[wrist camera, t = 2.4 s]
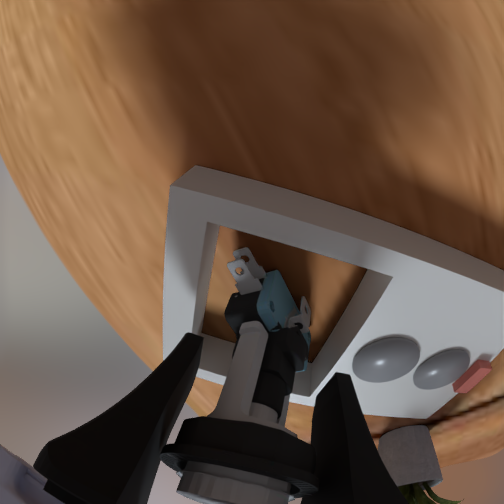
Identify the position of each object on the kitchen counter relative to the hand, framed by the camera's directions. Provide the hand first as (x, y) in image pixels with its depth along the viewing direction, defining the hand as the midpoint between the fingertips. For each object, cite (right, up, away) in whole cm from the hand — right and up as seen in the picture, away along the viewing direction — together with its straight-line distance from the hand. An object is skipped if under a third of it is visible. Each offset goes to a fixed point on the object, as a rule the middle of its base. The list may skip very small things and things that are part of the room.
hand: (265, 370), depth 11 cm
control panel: (+5, +1, +4) cm, 6 cm away
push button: (+1, +2, +4) cm, 5 cm away
